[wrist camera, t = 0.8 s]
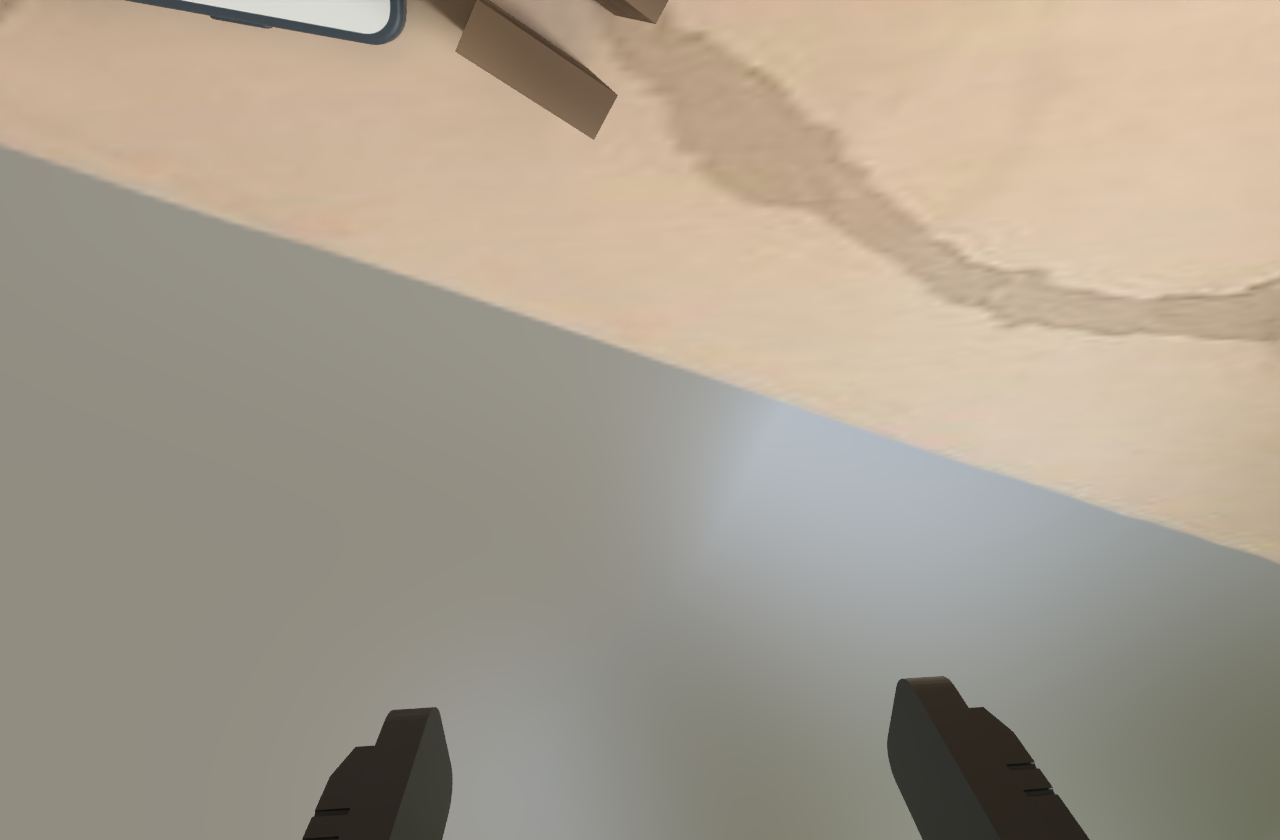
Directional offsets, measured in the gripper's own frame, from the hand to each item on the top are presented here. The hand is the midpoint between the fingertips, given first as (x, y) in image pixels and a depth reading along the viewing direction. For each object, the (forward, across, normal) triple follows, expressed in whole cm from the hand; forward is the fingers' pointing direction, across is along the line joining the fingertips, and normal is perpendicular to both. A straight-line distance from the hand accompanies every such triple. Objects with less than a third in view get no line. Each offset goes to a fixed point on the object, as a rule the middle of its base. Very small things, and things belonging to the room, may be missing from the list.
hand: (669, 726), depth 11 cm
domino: (+24, +4, -14) cm, 28 cm away
